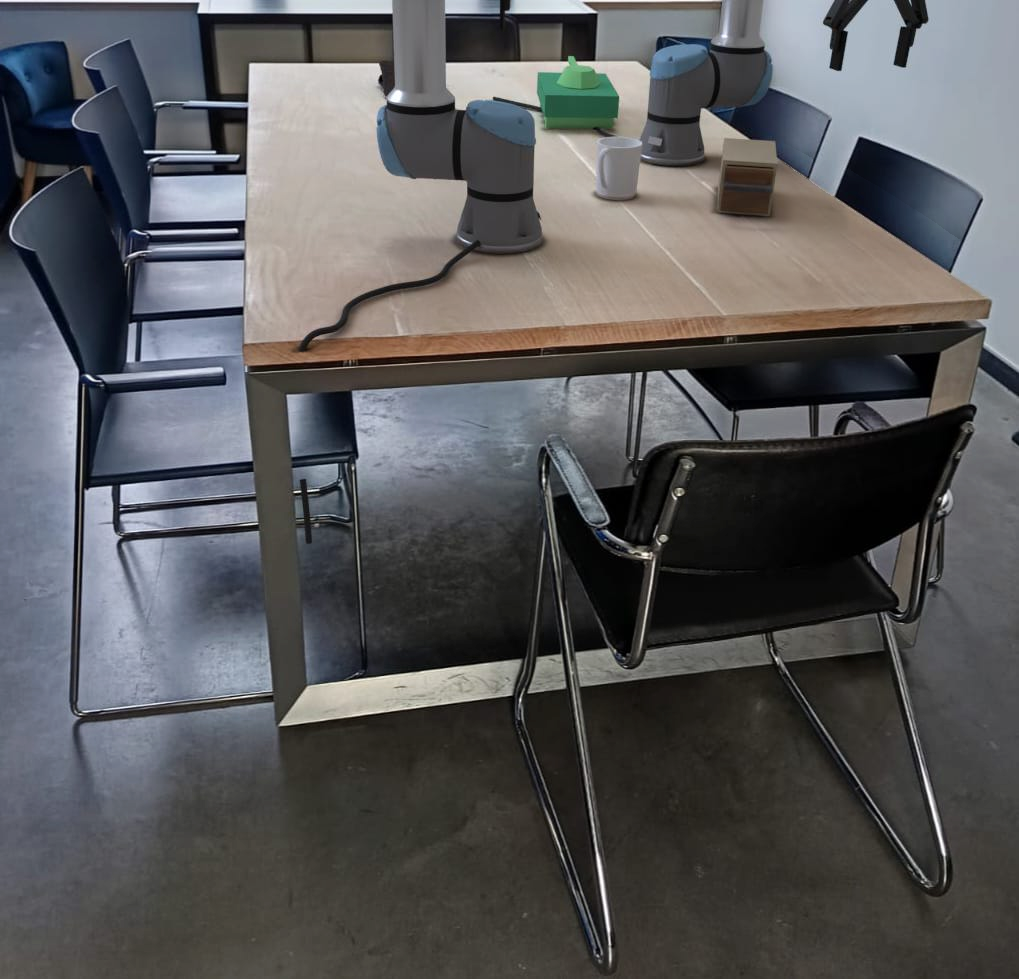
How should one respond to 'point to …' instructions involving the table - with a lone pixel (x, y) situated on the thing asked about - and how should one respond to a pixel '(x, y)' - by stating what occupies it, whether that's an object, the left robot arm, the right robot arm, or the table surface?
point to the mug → (617, 167)
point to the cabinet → (747, 162)
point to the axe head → (387, 76)
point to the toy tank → (577, 98)
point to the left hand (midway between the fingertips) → (469, 26)
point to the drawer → (746, 189)
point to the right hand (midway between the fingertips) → (867, 68)
